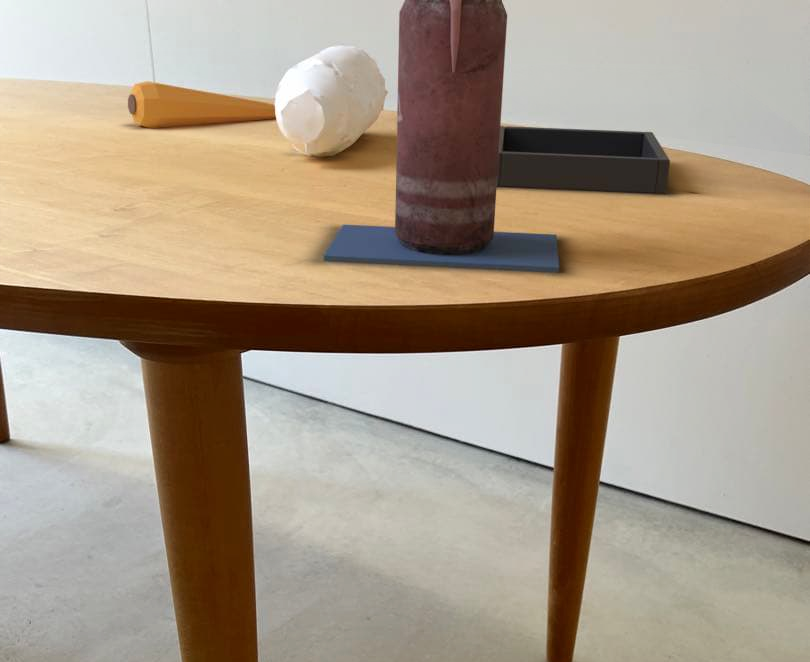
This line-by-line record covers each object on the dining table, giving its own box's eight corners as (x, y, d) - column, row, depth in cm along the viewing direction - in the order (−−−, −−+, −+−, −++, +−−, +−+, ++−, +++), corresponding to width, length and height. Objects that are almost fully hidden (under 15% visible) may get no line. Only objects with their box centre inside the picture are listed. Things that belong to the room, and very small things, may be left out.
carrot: (136, 138, 107) (143, 94, 104) (120, 113, 109) (126, 69, 106) (316, 145, 118) (327, 105, 114) (298, 122, 120) (309, 82, 117)
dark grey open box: (648, 164, 98) (652, 132, 96) (665, 196, 86) (670, 160, 84) (493, 157, 99) (495, 125, 97) (489, 188, 87) (491, 152, 85)
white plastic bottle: (255, 169, 91) (251, 65, 88) (304, 132, 108) (302, 43, 104) (351, 174, 91) (350, 69, 87) (385, 136, 107) (386, 46, 103)
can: (404, 258, 66) (411, -5, 59) (388, 232, 71) (392, -11, 64) (504, 256, 67) (521, -2, 60) (480, 230, 72) (494, -9, 65)
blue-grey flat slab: (555, 242, 72) (556, 234, 72) (558, 275, 65) (559, 266, 65) (342, 231, 73) (342, 224, 73) (323, 263, 66) (323, 255, 66)
